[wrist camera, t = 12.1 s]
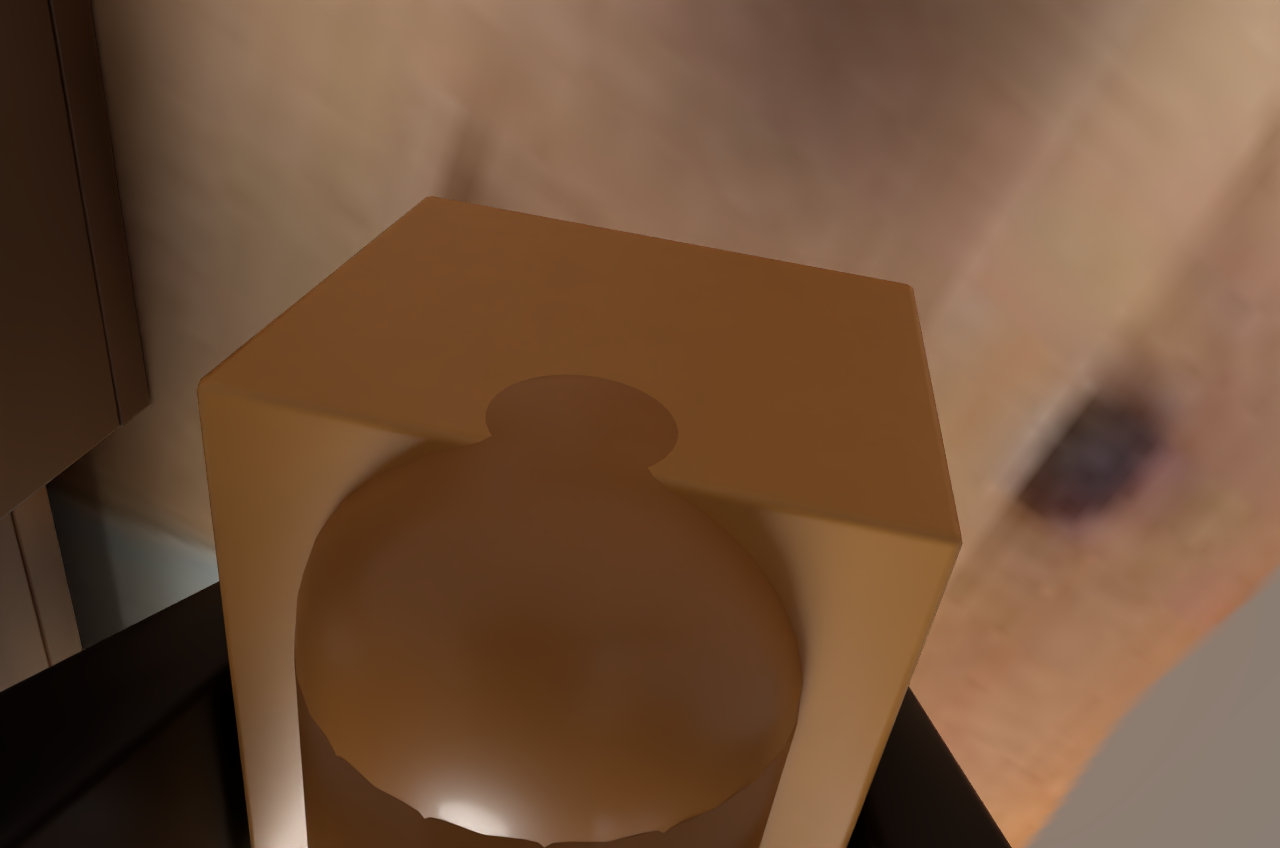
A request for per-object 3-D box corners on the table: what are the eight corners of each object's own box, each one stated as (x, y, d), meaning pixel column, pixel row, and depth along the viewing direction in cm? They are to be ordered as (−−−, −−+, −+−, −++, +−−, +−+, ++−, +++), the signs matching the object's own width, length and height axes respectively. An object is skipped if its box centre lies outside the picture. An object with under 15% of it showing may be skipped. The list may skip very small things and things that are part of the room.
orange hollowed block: (759, 808, 11) (718, 1336, 7) (417, 729, 12) (194, 1192, 8) (919, 271, 8) (1011, 699, 4) (426, 180, 8) (27, 486, 4)
